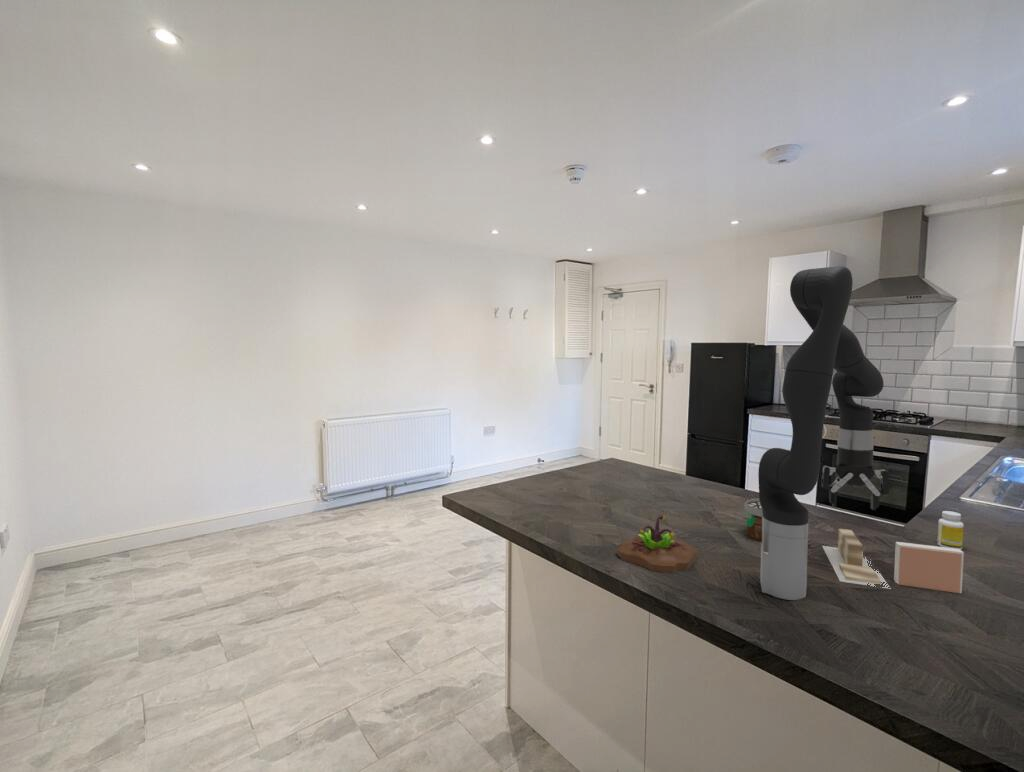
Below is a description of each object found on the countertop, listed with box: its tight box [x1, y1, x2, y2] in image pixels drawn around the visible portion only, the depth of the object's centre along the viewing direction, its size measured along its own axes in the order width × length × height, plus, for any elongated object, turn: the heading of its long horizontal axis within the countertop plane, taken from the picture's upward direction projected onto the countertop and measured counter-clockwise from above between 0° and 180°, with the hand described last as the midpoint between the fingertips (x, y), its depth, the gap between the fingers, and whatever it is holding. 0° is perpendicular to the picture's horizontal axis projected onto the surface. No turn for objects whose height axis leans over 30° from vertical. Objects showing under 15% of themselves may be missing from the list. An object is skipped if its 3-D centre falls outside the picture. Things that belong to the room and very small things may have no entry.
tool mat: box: [821, 545, 892, 590], centre depth 125 cm, size 10×23×1 cm, turn 157°
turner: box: [837, 528, 881, 585], centre depth 125 cm, size 20×7×6 cm, turn 157°
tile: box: [893, 541, 965, 594], centre depth 113 cm, size 12×2×10 cm, turn 67°
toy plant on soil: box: [616, 514, 699, 574], centre depth 134 cm, size 20×20×11 cm
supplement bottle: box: [936, 510, 965, 551], centre depth 137 cm, size 5×5×10 cm
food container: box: [743, 498, 763, 542], centre depth 147 cm, size 12×6×10 cm, turn 141°
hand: (853, 507), depth 126 cm, fingers open, 8 cm apart
